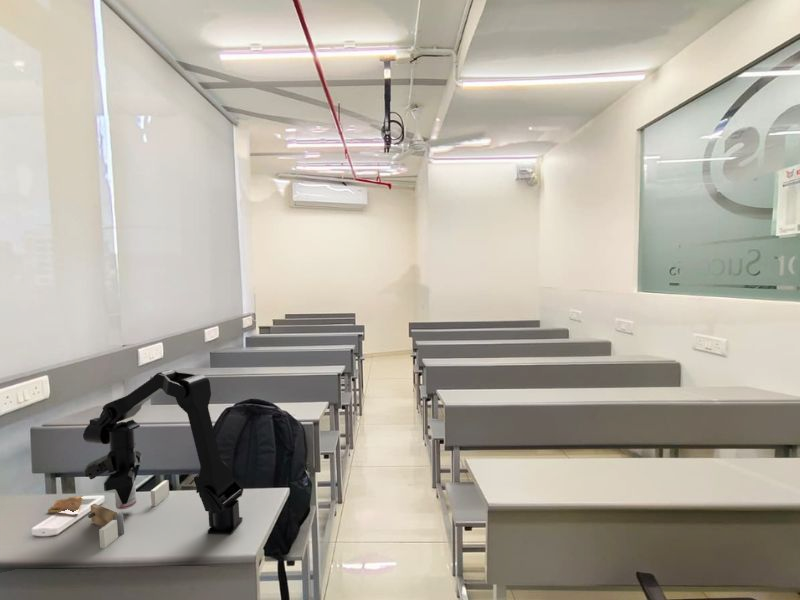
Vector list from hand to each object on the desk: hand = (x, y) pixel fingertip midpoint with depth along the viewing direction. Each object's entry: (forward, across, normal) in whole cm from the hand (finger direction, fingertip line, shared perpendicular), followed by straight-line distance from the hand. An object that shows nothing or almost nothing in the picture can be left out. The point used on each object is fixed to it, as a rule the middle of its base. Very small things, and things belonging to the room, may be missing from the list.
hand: (126, 499), depth 116 cm
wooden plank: (+3, +6, -5) cm, 8 cm away
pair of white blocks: (+4, +5, +3) cm, 7 cm away
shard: (+4, -12, -15) cm, 19 cm away
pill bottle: (+2, 0, 0) cm, 2 cm away
